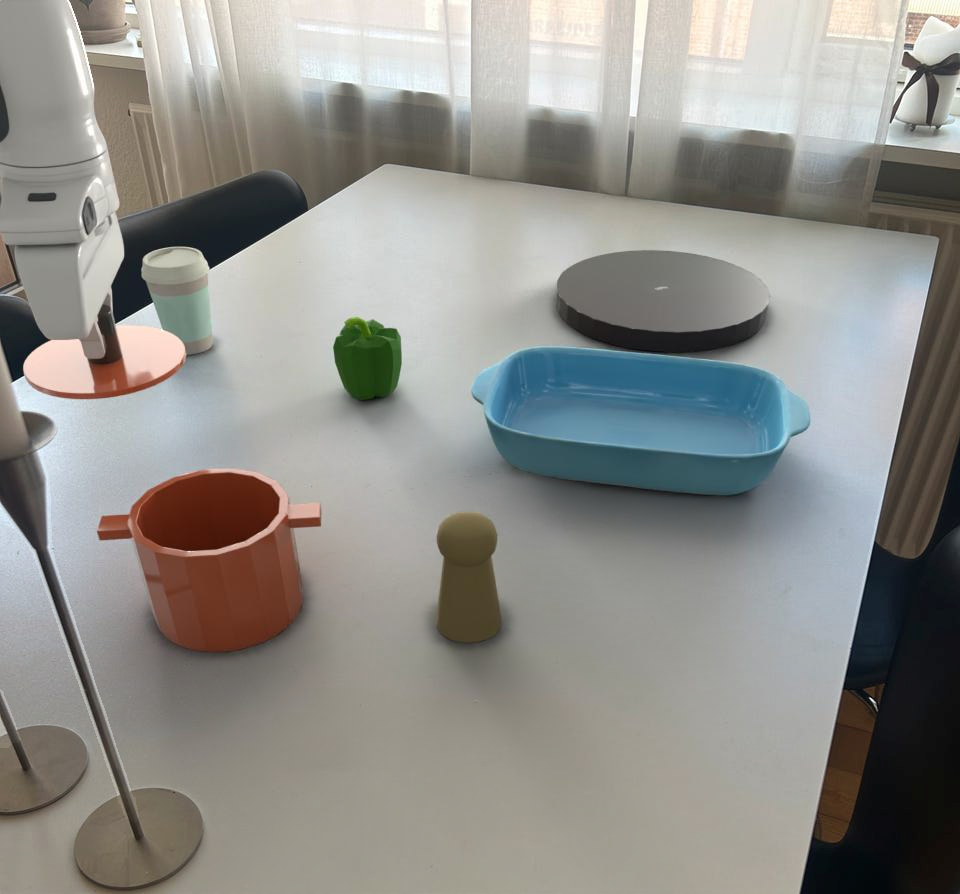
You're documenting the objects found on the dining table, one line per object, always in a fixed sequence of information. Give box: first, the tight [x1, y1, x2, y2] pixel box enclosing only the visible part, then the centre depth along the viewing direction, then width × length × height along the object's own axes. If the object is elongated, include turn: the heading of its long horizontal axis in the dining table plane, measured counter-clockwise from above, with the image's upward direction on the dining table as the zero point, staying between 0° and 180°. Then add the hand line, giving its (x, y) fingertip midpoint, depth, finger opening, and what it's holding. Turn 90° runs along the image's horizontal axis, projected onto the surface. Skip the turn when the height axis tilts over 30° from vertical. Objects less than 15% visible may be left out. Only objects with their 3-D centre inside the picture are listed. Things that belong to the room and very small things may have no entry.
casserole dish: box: [470, 345, 811, 496], centre depth 112 cm, size 37×22×7 cm, turn 79°
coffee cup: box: [140, 246, 214, 356], centre depth 131 cm, size 8×8×12 cm
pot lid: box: [22, 304, 187, 400], centre depth 93 cm, size 15×15×6 cm
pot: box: [96, 467, 322, 653], centre depth 90 cm, size 14×19×10 cm
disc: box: [555, 249, 771, 353], centre depth 143 cm, size 30×30×3 cm
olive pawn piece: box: [435, 510, 503, 644], centre depth 88 cm, size 6×6×11 cm
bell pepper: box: [332, 316, 403, 401], centre depth 122 cm, size 8×8×10 cm
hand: (101, 344), depth 93 cm, fingers closed on pot lid, 3 cm apart
